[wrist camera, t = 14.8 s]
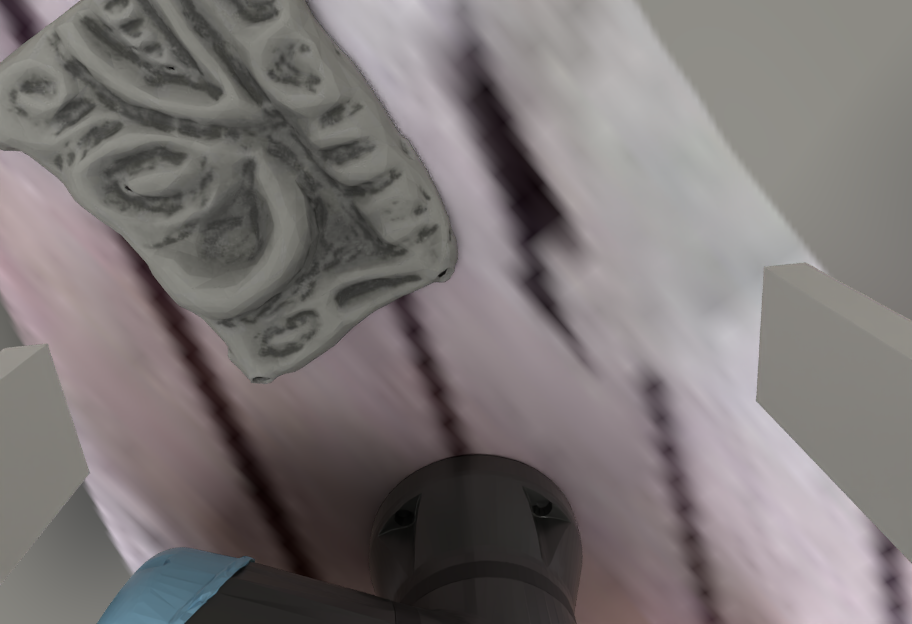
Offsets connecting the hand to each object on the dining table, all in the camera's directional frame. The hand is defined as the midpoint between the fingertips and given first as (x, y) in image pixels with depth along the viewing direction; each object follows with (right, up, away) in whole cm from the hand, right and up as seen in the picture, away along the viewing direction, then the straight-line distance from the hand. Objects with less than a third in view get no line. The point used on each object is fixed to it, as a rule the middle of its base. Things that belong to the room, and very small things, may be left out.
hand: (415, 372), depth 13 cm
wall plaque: (-12, +9, +28) cm, 32 cm away
